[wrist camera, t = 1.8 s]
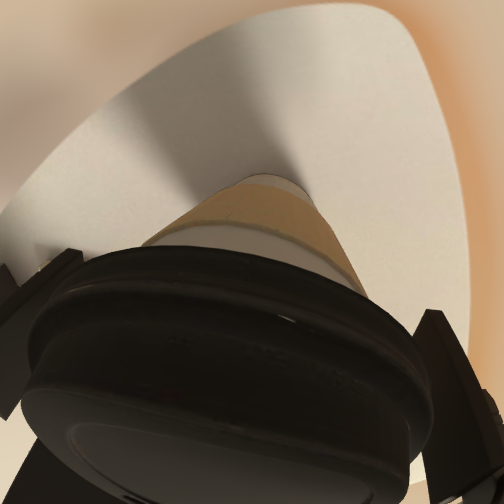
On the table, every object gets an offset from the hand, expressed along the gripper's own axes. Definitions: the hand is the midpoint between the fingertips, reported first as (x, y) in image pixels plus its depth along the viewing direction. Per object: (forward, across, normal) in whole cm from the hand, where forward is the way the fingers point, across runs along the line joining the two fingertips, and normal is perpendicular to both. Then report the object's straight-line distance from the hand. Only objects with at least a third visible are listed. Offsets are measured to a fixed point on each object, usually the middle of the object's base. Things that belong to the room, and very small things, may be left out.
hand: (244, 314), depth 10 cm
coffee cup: (+8, 0, 0) cm, 8 cm away
